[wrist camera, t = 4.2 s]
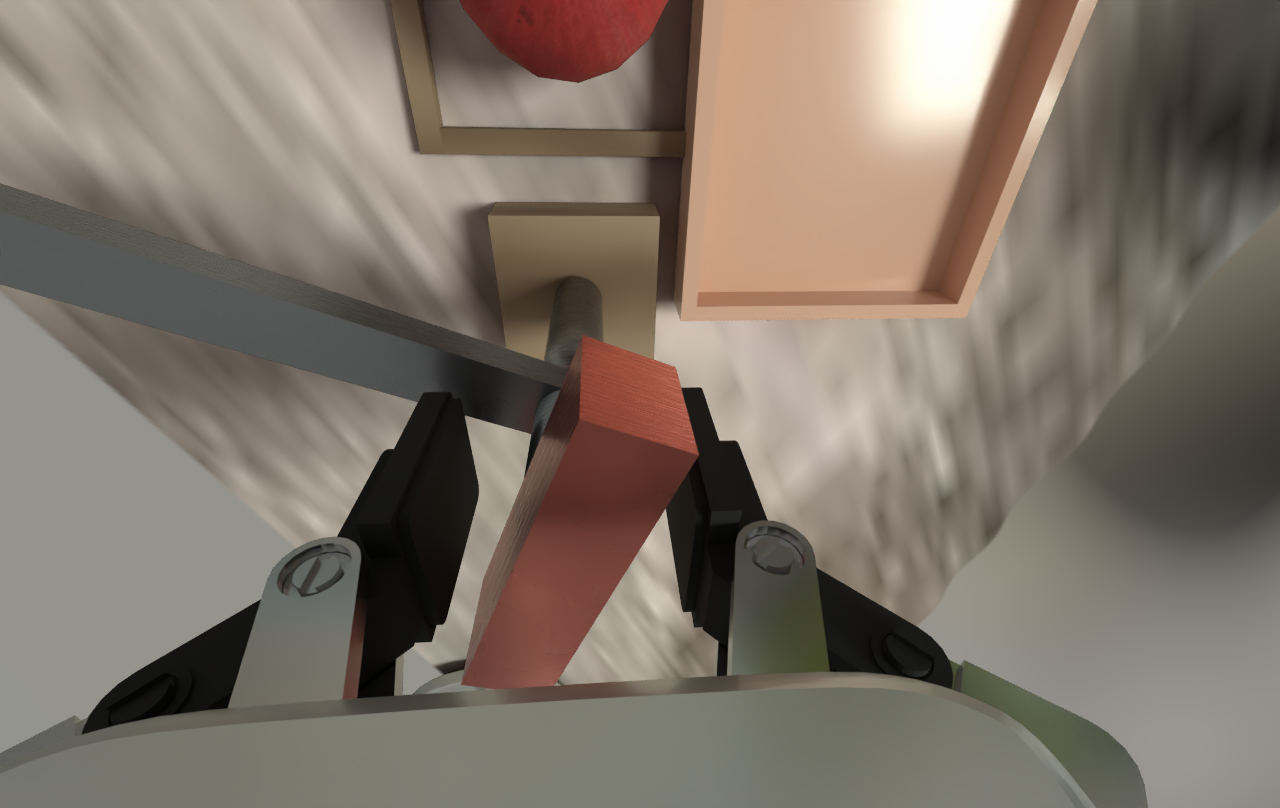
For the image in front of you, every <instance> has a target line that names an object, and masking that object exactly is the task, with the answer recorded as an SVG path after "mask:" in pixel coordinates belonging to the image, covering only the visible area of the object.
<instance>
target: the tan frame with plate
mask: <svg viewBox="0 0 1280 808" xmlns="http://www.w3.org/2000/svg"><path fill="white" fill-rule="evenodd" d="M390 4H391V9H392V14H393V19H394V24H395V29H396V34H397V39H398V44H399V49H400V54H401V59H402V64H403V69H404V74H405V79H406V84H407V89H408V94H409V99H410V104H411V109H412V114H413V119H414V124H415V129H416V134H417V139H418V144H419V149H420V154H477V155H554V156H630V157H685V149H686V134H687V132H686V131H676V130H618V129H559V128H501V127H443V123H442V118H441V112H440V106H439V100H438V94H437V89H436V83H435V77H434V71H433V65H432V60H431V54H430V48H429V42H428V36H427V31H426V25H425V19H424V13H423V7H422V2H421V0H390ZM488 223H489V230H490V237H491V244H492V251H493V258H494V265H495V272H496V280H497V287H498V294H499V301H500V308H501V315H502V322H503V329H504V336H505V343H506V349H509V350H512V351H515V352H518V353H522V354H525V355H528V356H531V357H534V358H537V359H540V360H543V361H544V356H545V350H546V344H547V338H548V332H549V326H550V320H551V314H552V308H553V302H554V296H555V292H556V290H557V288H558V286H559V285H560V284H561V283H562V282H563V281H565V280H567V279H569V278H573V277H582V278H586V279H588V280H590V281H592V282H593V283H594V284H596V286H597V287H598V288H599V290H600V292H601V295H602V306H603V334H604V343H607V344H610V345H613V346H616V347H619V348H622V349H624V350H627V351H630V352H633V353H636V354H639V355H642V356H645V357H647V358H650V359H653V360H654V342H655V318H656V295H657V272H658V249H659V225H660V215H659V213H658V211H657V208H656V206H655V204H654V203H544V202H496V204H495V205H494V207H493V208H492V210H491V211H490V213H489V214H488Z"/></svg>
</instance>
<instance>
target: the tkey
mask: <svg viewBox="0 0 1280 808" xmlns="http://www.w3.org/2000/svg"><path fill="white" fill-rule="evenodd" d="M0 284H1V285H5V286H8V287H12V288H15V289H19V290H22V291H26V292H30V293H33V294H37V295H40V296H44V297H47V298H51V299H54V300H58V301H61V302H65V303H69V304H72V305H76V306H79V307H83V308H86V309H90V310H93V311H97V312H100V313H104V314H108V315H111V316H115V317H118V318H122V319H125V320H129V321H132V322H136V323H139V324H143V325H147V326H150V327H154V328H157V329H161V330H164V331H168V332H171V333H175V334H178V335H182V336H186V337H189V338H193V339H196V340H200V341H203V342H207V343H210V344H214V345H217V346H221V347H225V348H228V349H232V350H235V351H239V352H242V353H246V354H249V355H253V356H256V357H260V358H264V359H267V360H271V361H274V362H278V363H281V364H285V365H288V366H292V367H295V368H299V369H303V370H306V371H310V372H313V373H317V374H320V375H324V376H327V377H331V378H335V379H338V380H342V381H345V382H349V383H352V384H356V385H359V386H363V387H366V388H370V389H374V390H377V391H381V392H384V393H388V394H391V395H395V396H398V397H402V398H405V399H409V400H413V401H416V402H419V400H420V398H421V396H422V394H423V393H424V392H451V394H452V395H453V398H460V399H461V402H462V406H463V411H464V415H466V416H469V417H473V418H476V419H480V420H483V421H487V422H491V423H494V424H498V425H501V426H505V427H508V428H512V429H515V430H519V431H522V432H526V433H530V434H531V440H530V446H529V452H528V458H527V464H526V470H525V476H524V481H523V483H522V486H521V488H520V490H519V493H518V495H517V498H516V500H515V503H514V505H513V508H512V510H511V513H510V515H509V517H508V520H507V522H506V525H505V527H504V530H503V532H502V535H501V537H500V540H499V542H498V545H497V547H496V549H495V552H494V554H493V557H492V559H491V562H490V564H489V567H488V569H487V572H486V574H485V576H484V579H483V583H482V588H481V593H480V597H479V602H478V607H477V611H476V616H475V621H474V625H473V630H472V635H471V640H470V644H469V649H468V654H467V658H466V663H465V668H464V672H463V677H462V682H461V685H465V686H473V687H480V688H488V689H510V688H526V687H542V686H554V685H555V684H556V682H557V681H558V679H559V677H560V676H561V674H562V673H563V671H564V669H565V668H566V666H567V665H568V663H569V661H570V660H571V658H572V657H573V655H574V654H575V652H576V650H577V649H578V647H579V646H580V644H581V642H582V641H583V639H584V638H585V636H586V634H587V633H588V631H589V630H590V628H591V626H592V625H593V623H594V622H595V620H596V618H597V617H598V615H599V614H600V612H601V610H602V609H603V607H604V606H605V604H606V603H607V601H608V599H609V598H610V596H611V595H612V593H613V591H614V590H615V588H616V587H617V585H618V583H619V582H620V580H621V579H622V577H623V575H624V574H625V572H626V571H627V569H628V567H629V566H630V564H631V563H632V561H633V559H634V558H635V556H636V555H637V553H638V552H639V550H640V548H641V547H642V545H643V544H644V542H645V540H646V539H647V537H648V536H649V534H650V532H651V531H652V529H653V528H654V526H655V524H656V523H657V521H658V520H659V518H660V516H661V515H662V513H663V512H664V510H665V508H666V507H667V505H668V504H669V502H670V501H671V499H672V497H673V496H674V494H675V493H676V491H677V489H678V488H679V486H680V485H681V483H682V481H683V480H684V478H685V477H686V475H687V473H688V472H689V470H690V469H691V467H692V465H693V464H694V462H695V461H696V459H697V457H698V456H699V453H698V449H697V446H696V442H695V438H694V434H693V431H692V427H691V423H690V419H689V416H688V412H687V408H686V404H685V401H684V397H683V393H682V389H681V386H680V382H679V378H678V374H677V371H676V367H673V366H670V365H667V364H665V363H662V362H659V361H656V360H653V359H650V358H647V357H645V356H642V355H639V354H636V353H633V352H630V351H627V350H624V349H622V348H619V347H616V346H613V345H610V344H607V343H604V334H603V306H602V295H601V292H600V290H599V288H598V287H597V286H596V284H594V283H593V282H592V281H590V280H588V279H586V278H582V277H573V278H569V279H567V280H565V281H563V282H562V283H561V284H560V285H559V286H558V288H557V290H556V292H555V296H554V302H553V308H552V314H551V320H550V326H549V332H548V338H547V344H546V350H545V356H544V361H543V360H540V359H537V358H534V357H531V356H528V355H525V354H522V353H518V352H515V351H512V350H509V349H506V348H503V347H500V346H497V345H494V344H491V343H488V342H485V341H482V340H479V339H476V338H472V337H469V336H466V335H463V334H460V333H457V332H454V331H451V330H448V329H445V328H442V327H439V326H436V325H433V324H430V323H427V322H423V321H420V320H417V319H414V318H411V317H408V316H405V315H402V314H399V313H396V312H393V311H390V310H387V309H384V308H381V307H377V306H374V305H371V304H368V303H365V302H362V301H359V300H356V299H353V298H350V297H347V296H344V295H341V294H338V293H335V292H331V291H328V290H325V289H322V288H319V287H316V286H313V285H310V284H307V283H304V282H301V281H298V280H295V279H292V278H289V277H285V276H282V275H279V274H276V273H273V272H270V271H267V270H264V269H261V268H258V267H255V266H252V265H249V264H246V263H243V262H239V261H236V260H233V259H230V258H227V257H224V256H221V255H218V254H215V253H212V252H209V251H206V250H203V249H200V248H197V247H193V246H190V245H187V244H184V243H181V242H178V241H175V240H172V239H169V238H166V237H163V236H160V235H157V234H154V233H151V232H147V231H144V230H141V229H138V228H135V227H132V226H129V225H126V224H123V223H120V222H117V221H114V220H111V219H108V218H105V217H102V216H98V215H95V214H92V213H89V212H86V211H83V210H80V209H77V208H74V207H71V206H68V205H65V204H62V203H59V202H56V201H52V200H49V199H46V198H43V197H40V196H37V195H34V194H31V193H28V192H25V191H22V190H19V189H16V188H13V187H10V186H6V185H3V184H0Z"/></svg>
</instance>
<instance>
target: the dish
mask: <svg viewBox="0 0 1280 808" xmlns="http://www.w3.org/2000/svg"><path fill="white" fill-rule="evenodd" d="M1097 1H1098V0H693V5H692V21H691V37H690V52H689V68H688V84H687V100H686V115H685V131H686V132H687V134H686V149H685V157H683V163H682V178H681V194H680V210H679V226H678V241H677V257H676V273H675V289H674V303H675V306H676V309H677V312H678V315H679V318H680V321H717V320H805V319H893V318H966V316H967V314H968V312H969V309H970V307H971V304H972V302H973V300H974V297H975V295H976V292H977V290H978V288H979V285H980V283H981V280H982V278H983V275H984V273H985V271H986V268H987V266H988V263H989V261H990V259H991V256H992V254H993V251H994V249H995V247H996V244H997V242H998V239H999V237H1000V235H1001V232H1002V230H1003V227H1004V225H1005V223H1006V220H1007V218H1008V215H1009V213H1010V210H1011V208H1012V206H1013V203H1014V201H1015V198H1016V196H1017V194H1018V191H1019V189H1020V186H1021V184H1022V182H1023V179H1024V177H1025V174H1026V172H1027V170H1028V167H1029V165H1030V162H1031V160H1032V158H1033V155H1034V153H1035V150H1036V148H1037V145H1038V143H1039V141H1040V138H1041V136H1042V133H1043V131H1044V129H1045V126H1046V124H1047V121H1048V119H1049V117H1050V114H1051V112H1052V109H1053V107H1054V105H1055V102H1056V100H1057V97H1058V95H1059V93H1060V90H1061V88H1062V85H1063V83H1064V80H1065V78H1066V76H1067V73H1068V71H1069V68H1070V66H1071V64H1072V61H1073V59H1074V56H1075V54H1076V52H1077V49H1078V47H1079V44H1080V42H1081V40H1082V37H1083V35H1084V32H1085V30H1086V28H1087V25H1088V23H1089V20H1090V18H1091V15H1092V13H1093V11H1094V8H1095V6H1096V3H1097Z"/></svg>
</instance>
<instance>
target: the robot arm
mask: <svg viewBox="0 0 1280 808" xmlns="http://www.w3.org/2000/svg"><path fill="white" fill-rule="evenodd" d="M681 389H682V393H683V397H684V401H685V404H686V408H687V412H688V416H689V419H690V423H691V427H692V431H693V434H694V438H695V442H696V446H697V449H698V453H699V456H698V457H697V459H696V461H695V462H694V464H693V465H692V467H691V469H690V470H689V472H688V473H687V475H686V477H685V478H684V480H683V481H682V483H681V485H680V486H679V488H678V489H677V491H676V493H675V494H674V496H673V497H672V499H671V501H670V502H669V504H668V505H667V507H666V512H667V518H668V525H669V531H670V537H671V543H672V549H673V556H674V562H675V568H676V574H677V580H678V587H679V593H680V599H681V605H682V610H683V612H692V618H693V624H694V627H703V630H704V631H705V632H707V633H708V634H709V635H711V636H712V637H713V638H715V639H716V654H715V671H714V676H712V677H695V678H677V679H660V680H642V681H624V682H607V683H591V684H574V685H561V684H559V683H558V682H556V684H555V685H554V686H542V687H526V688H510V689H488V688H480V687H473V686H465V685H461V682H462V677H463V672H464V670H460V671H456V672H452V673H448V674H445V675H442V676H440V677H437V678H435V679H433V680H431V681H429V682H428V683H426V684H424V685H423V686H421V687H420V688H419V689H418V690H417V691H416V692H415V693H414V694H413V695H402V690H403V665H404V657H403V654H404V653H405V652H406V651H407V650H409V649H410V648H411V647H413V646H414V643H418V642H432V639H433V636H434V632H435V629H436V625H443V624H444V623H445V621H446V618H447V615H448V611H449V607H450V603H451V600H452V596H453V592H454V588H455V584H456V581H457V577H458V573H459V569H460V565H461V562H462V558H463V554H464V550H465V547H466V543H467V539H468V535H469V531H470V528H471V524H472V520H473V516H474V512H475V509H476V505H477V501H478V496H479V485H478V479H477V475H476V470H475V465H474V460H473V455H472V450H471V445H470V440H469V435H468V430H467V426H466V421H465V416H464V411H463V406H462V402H461V399H460V398H453V395H452V394H451V392H424V393H423V394H422V396H421V398H420V400H419V402H418V404H417V405H416V407H415V409H414V411H413V413H412V415H411V417H410V419H409V421H408V423H407V425H406V427H405V429H404V431H403V433H402V435H401V437H400V439H399V440H398V442H397V444H396V446H395V448H394V449H388V450H386V451H384V452H383V453H382V455H381V456H380V458H379V460H378V462H377V464H376V466H375V467H374V469H373V471H372V473H371V475H370V477H369V479H368V480H367V482H366V484H365V486H364V488H363V490H362V491H361V493H360V495H359V497H358V499H357V501H356V503H355V504H354V506H353V508H352V510H351V512H350V514H349V516H348V517H347V519H346V521H345V523H344V525H343V527H342V529H341V530H340V532H339V534H338V536H337V537H327V538H321V539H317V540H314V541H311V542H308V543H306V544H304V545H302V546H300V547H298V548H296V549H294V550H293V551H291V552H290V553H289V554H287V555H286V556H285V557H283V558H282V559H281V560H280V561H279V562H278V564H277V565H276V566H275V567H274V568H273V569H272V571H271V573H270V575H269V577H268V579H267V582H266V585H265V589H264V592H263V595H262V598H261V600H259V601H257V602H256V603H254V604H252V605H250V606H249V607H247V608H245V609H244V610H242V611H240V612H239V613H237V614H235V615H233V616H232V617H230V618H228V619H226V620H225V621H223V622H221V623H219V624H218V625H216V626H214V627H212V628H211V629H209V630H207V631H206V632H204V633H202V634H200V635H199V636H197V637H195V638H194V639H192V640H190V641H188V642H187V643H185V644H183V645H182V646H180V647H178V648H176V649H175V650H173V651H172V652H169V653H168V654H166V655H165V656H163V657H161V658H159V659H158V660H156V661H154V662H152V663H150V664H149V665H147V666H145V667H144V668H142V669H140V670H138V671H137V672H135V673H134V674H132V675H131V676H129V677H128V678H126V679H125V680H123V681H122V682H120V683H119V684H118V685H117V686H116V687H114V689H112V690H111V691H110V692H109V693H108V694H107V695H106V696H105V697H104V698H103V699H102V700H101V701H100V702H99V703H98V705H97V706H96V707H95V709H94V710H93V711H92V713H91V714H90V715H89V717H88V718H86V719H84V720H80V719H79V718H78V717H77V716H73V717H71V718H69V719H67V720H65V721H63V722H61V723H59V724H57V725H55V726H53V727H51V728H49V729H47V730H45V731H43V732H41V733H39V734H37V735H35V736H33V737H31V738H29V739H27V740H25V741H23V742H22V743H19V744H18V745H16V746H14V747H12V748H10V749H8V750H6V751H4V752H2V753H0V808H1148V804H1147V798H1146V792H1145V785H1144V782H1143V779H1142V777H1141V774H1140V771H1139V769H1138V766H1137V765H1136V763H1135V762H1134V760H1133V759H1132V758H1131V756H1130V755H1129V753H1128V752H1127V751H1126V749H1125V748H1124V747H1123V746H1122V745H1121V744H1120V743H1119V742H1118V741H1116V740H1115V739H1114V738H1113V737H1112V736H1111V735H1110V734H1109V733H1108V732H1106V731H1105V730H1103V729H1101V728H1100V727H1098V726H1097V725H1095V724H1093V723H1092V722H1090V721H1088V720H1086V719H1084V718H1082V717H1080V716H1078V715H1076V714H1074V713H1072V712H1070V711H1068V710H1065V709H1064V708H1062V707H1059V706H1057V705H1055V704H1053V703H1051V702H1049V701H1047V700H1045V699H1043V698H1041V697H1039V696H1037V695H1035V694H1033V693H1031V692H1028V691H1027V690H1024V689H1023V688H1020V687H1018V686H1016V685H1014V684H1012V683H1010V682H1008V681H1006V680H1004V679H1002V678H1000V677H998V676H996V675H994V674H992V673H990V672H988V671H986V670H983V669H981V668H979V667H977V666H975V665H973V664H971V663H969V662H967V661H965V660H964V661H963V662H962V664H961V665H959V664H957V663H954V662H952V661H950V660H949V659H948V658H947V656H946V654H945V653H944V651H943V649H942V648H941V647H940V646H939V645H938V644H937V643H936V642H935V641H934V639H932V637H931V636H929V635H928V634H926V633H925V632H924V631H922V630H921V629H919V628H918V627H916V626H915V625H913V624H911V623H910V622H908V621H906V620H904V619H903V618H901V617H899V616H898V615H896V614H894V613H893V612H891V611H889V610H887V609H886V608H884V607H882V606H881V605H879V604H877V603H876V602H874V601H872V600H870V599H869V598H867V597H865V596H864V595H862V594H860V593H858V592H857V591H855V590H853V589H852V588H850V587H848V586H847V585H845V584H843V583H841V582H840V581H838V580H836V579H835V578H833V577H831V576H830V575H828V574H826V573H824V572H823V571H821V570H819V569H818V568H816V561H815V555H814V552H813V549H812V546H811V544H810V543H809V542H808V540H807V539H806V538H805V537H804V536H803V535H802V534H801V533H800V532H798V531H797V530H796V529H794V528H792V527H790V526H788V525H786V524H783V523H780V522H776V521H768V520H767V517H766V515H765V512H764V509H763V507H762V504H761V502H760V499H759V496H758V494H757V491H756V488H755V486H754V483H753V480H752V478H751V475H750V472H749V470H748V467H747V465H746V462H745V459H744V457H743V454H742V451H741V449H740V446H739V444H738V442H737V441H719V438H718V435H717V432H716V429H715V426H714V423H713V420H712V417H711V414H710V411H709V408H708V405H707V402H706V399H705V396H704V393H703V390H702V388H681Z"/></svg>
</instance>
